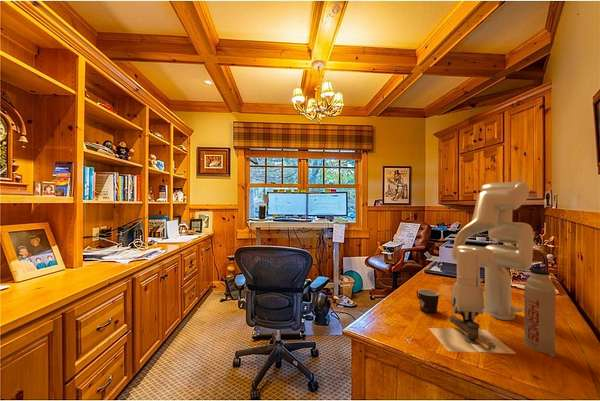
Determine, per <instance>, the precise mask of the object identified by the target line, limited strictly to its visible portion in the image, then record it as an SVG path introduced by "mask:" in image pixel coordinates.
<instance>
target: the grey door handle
mask: <svg viewBox="0 0 600 401" xmlns="http://www.w3.org/2000/svg"><path fill="white" fill-rule="evenodd" d="M449 322H450V323H451V324H453V325H454V326H456V327H457V328H458V329H462V330H463V331H464V332H466V333H467V334H468V339H470V340H472V341H477V342H478V343H480V344H481V345H482V346H484V347H485V348H489V346H487V345H486V344H484V343H483V342H481V341H480V340H478V329H480V327H481V326H480V324H479V323H478V322H475V321H473V322H471V321H469V322H467V323H465V322H464V321H463V319H461V318H460V317H457V316H456V315H450V321H449Z"/></svg>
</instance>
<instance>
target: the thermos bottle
mask: <svg viewBox="0 0 600 401" xmlns="http://www.w3.org/2000/svg"><path fill="white" fill-rule="evenodd" d="M529 270H530V271H529V272H530V277H527V278H526V283H525V284H524V293H523V294H524V299H523V300H524V301H523V302H524V307H523V308H524V309H523V311H524V312H523V314H524V320H523V321H524V322H523V324H524V325H523V327H524V328H523V331H524V332H523V343H524V345H525V346H526V347H528V348H529V349H531V350H533V351H537V352H539V353H544V354H546V355H549V357H552V358H554V357H555V356H556V288H555V287H553V286H554V284H553V281H551V280H550V272H549V271H548V270H545V269H537V268H530V269H529Z"/></svg>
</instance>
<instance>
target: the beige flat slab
mask: <svg viewBox="0 0 600 401" xmlns="http://www.w3.org/2000/svg"><path fill="white" fill-rule="evenodd" d="M428 330H429V331H430V332H431V333H432V334H433V335H434V336H435V337H436V339H437V340H438V341H439V342H440V343H441V345H442V346H443V347H444V348H445V350H447V352H448V353H449V352H453V353H454V352H455V353H482V354H484V353H485V354H489V353H490V354H508V355H509V354H510V355H511V354H516V355H517V352H516V351H514V350H513V349H512V348H510V347H509V346H508V345H507V344H505V343H504V342H502V341H501V339H499V338H497V336H495V335H493V334H492V333H491V332H490V331H489V330H487V329H480V328H478V340H480V341H481V342H483V343H484V344H486V345H487V346H489V348H485V347H484V346H482V345H481V344H480V343H478V342H477V341H472V340H470V339H468V334H467V333H466V332H464V331H463V330H462V329H460V328H439V327H438V328H437V327H435V328H434V327H433V328H432V327H428Z"/></svg>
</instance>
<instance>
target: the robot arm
mask: <svg viewBox="0 0 600 401" xmlns="http://www.w3.org/2000/svg"><path fill="white" fill-rule="evenodd" d="M529 194H530V188H529V185H528V184H527V183H526V182H525V181H524V182H523V181H505V182H488V183H484V184H483V185H482V186H481V188H480V191H479V193H478V194H477V197H476V202H475V206H474V211H473V215H472V218H471V221H470V222H469V223H467V224H465V225H464V226H463V227H462V228H461V229H460V230H459V231H458V232H457V234H456V235H455V238H454V242H453V246H452V251H451V252H452V253H451V254H452V258H453V260H455V261H456V282H454V284H453V288H452V291H451V292H452V295H451V306H452V307H453V309H452V312H453V313H454V314H458V315H460V316H461V317H462V321H464V322H465V323H467V322H469V321H471V322H474V320H475V318H476V317H477V316H478V315H482V314H484V313H486V314H488V315H490V317H492V318H494V319H496V320H500V321H513V320H515V319H516V315H515V313H516V312H517V313H522V312H523V311H524V309H523V308H522V307H517V306H516V307H515V305H512V278H511V275H510V274H511V273H509V271H508V269H512V270H517V271H518V270H519V271H529V270H531V269H532V265H533V257H534V229H533V227H532V225H531V224H529V223H526V222H514V221H513V211H515V210H517V209H519V208H520V207H521V206H522V205H523V204H524V203H525V201H527V199H528V198H529ZM487 231H488V235H487V236H488V238H489V239H490V240H491V241H493V242H497V243H505V244H514V245H516V246H510V245H500V244H487V245H486V246H479V245H478V246H477V245H471V244H466V242H467V240H468V239H469V238H470V237H472V236H474V235H478V234H479V233H483V232H487ZM481 268H484V280H483V278H481V276H480V275H481V274H480V273H481V271H480V270H481ZM481 282H484V291H483V287H482V285H481Z"/></svg>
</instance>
